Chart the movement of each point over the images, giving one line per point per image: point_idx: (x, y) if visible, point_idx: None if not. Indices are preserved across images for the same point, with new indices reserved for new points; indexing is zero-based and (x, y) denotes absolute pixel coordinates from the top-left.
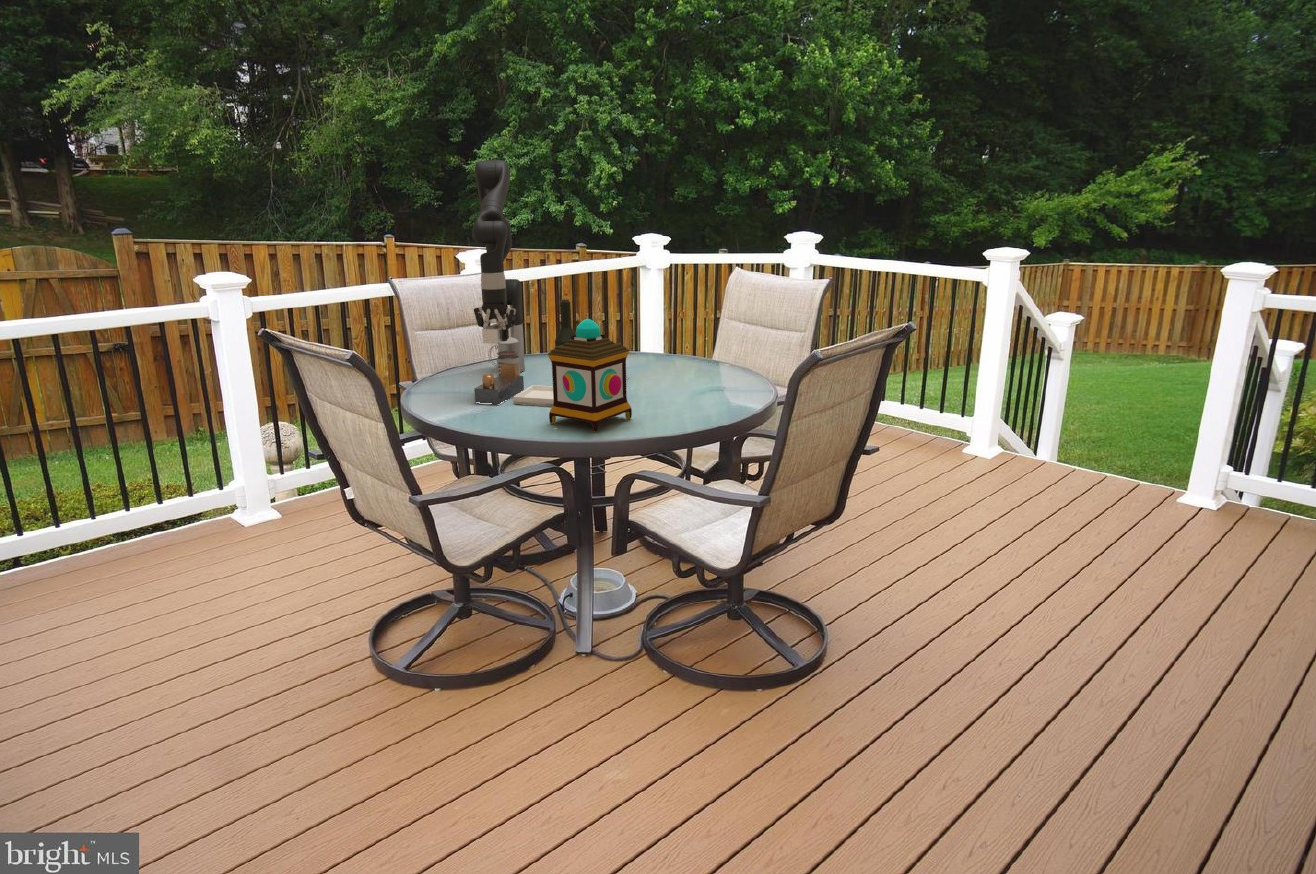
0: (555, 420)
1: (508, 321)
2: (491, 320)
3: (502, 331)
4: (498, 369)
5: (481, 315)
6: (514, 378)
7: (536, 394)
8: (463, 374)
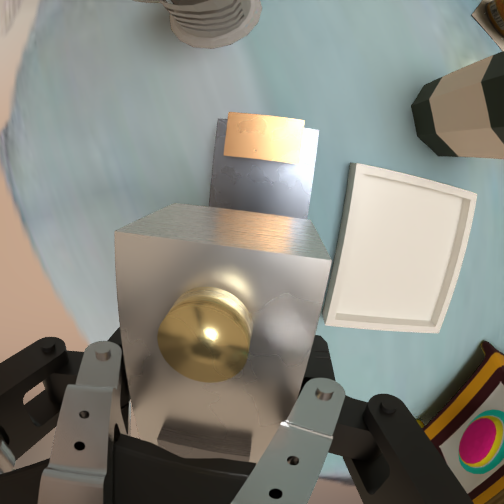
0: (422, 423)
1: (361, 489)
2: (116, 403)
3: None
4: (174, 17)
5: (4, 412)
6: (296, 181)
7: (378, 231)
8: (73, 3)
